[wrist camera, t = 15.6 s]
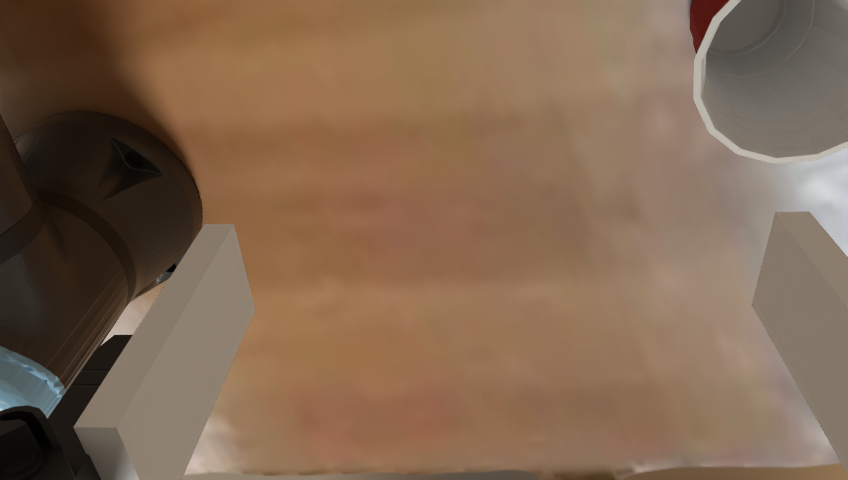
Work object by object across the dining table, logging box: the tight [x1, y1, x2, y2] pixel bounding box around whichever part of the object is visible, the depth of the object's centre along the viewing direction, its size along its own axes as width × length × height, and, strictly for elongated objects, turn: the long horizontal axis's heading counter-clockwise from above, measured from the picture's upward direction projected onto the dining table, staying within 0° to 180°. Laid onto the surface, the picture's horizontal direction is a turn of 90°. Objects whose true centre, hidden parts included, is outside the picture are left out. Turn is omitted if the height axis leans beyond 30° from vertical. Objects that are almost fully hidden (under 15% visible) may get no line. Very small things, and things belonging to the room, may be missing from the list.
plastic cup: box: [690, 0, 848, 164], centre depth 38 cm, size 11×11×12 cm
